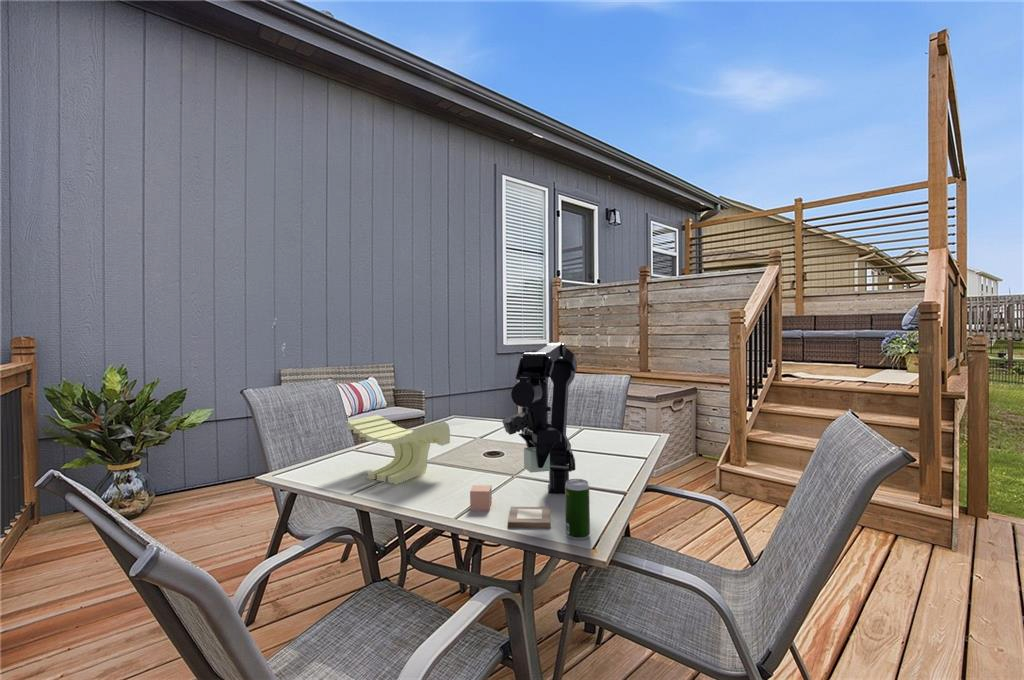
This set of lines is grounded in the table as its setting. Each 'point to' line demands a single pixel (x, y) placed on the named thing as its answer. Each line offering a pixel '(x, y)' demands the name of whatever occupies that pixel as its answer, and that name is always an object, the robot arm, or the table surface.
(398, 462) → the slatted curved stool
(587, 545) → the table surface
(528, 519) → the tower base
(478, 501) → the dusty pink cube
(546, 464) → the brick sage
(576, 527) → the beer can
